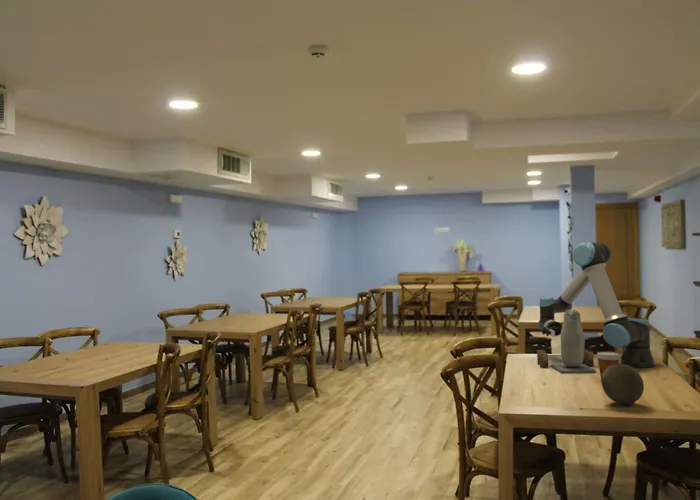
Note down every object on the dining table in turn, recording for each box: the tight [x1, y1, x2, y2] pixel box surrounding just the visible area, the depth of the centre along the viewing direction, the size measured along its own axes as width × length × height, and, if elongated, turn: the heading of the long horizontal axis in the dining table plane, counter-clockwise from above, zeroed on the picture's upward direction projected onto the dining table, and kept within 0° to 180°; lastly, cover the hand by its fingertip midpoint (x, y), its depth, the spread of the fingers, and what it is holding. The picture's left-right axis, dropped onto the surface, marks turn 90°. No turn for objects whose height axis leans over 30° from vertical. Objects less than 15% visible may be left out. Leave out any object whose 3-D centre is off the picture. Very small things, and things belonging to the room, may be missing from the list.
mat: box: [550, 363, 597, 375], centre depth 278 cm, size 16×16×1 cm
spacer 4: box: [584, 350, 595, 368], centre depth 286 cm, size 4×4×7 cm
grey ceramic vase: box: [560, 308, 585, 367], centre depth 278 cm, size 10×10×28 cm
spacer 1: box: [536, 349, 546, 366], centre depth 293 cm, size 4×4×7 cm
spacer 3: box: [582, 348, 589, 365], centre depth 293 cm, size 4×4×7 cm
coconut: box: [600, 363, 645, 406], centre depth 214 cm, size 14×14×15 cm
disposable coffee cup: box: [596, 351, 621, 378], centre depth 253 cm, size 10×10×12 cm
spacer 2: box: [539, 352, 550, 369], centre depth 285 cm, size 4×4×7 cm
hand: (567, 333), depth 283 cm, fingers open, 13 cm apart
